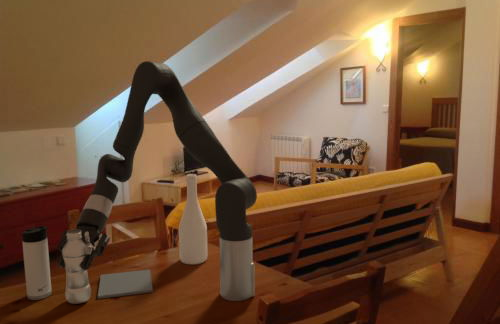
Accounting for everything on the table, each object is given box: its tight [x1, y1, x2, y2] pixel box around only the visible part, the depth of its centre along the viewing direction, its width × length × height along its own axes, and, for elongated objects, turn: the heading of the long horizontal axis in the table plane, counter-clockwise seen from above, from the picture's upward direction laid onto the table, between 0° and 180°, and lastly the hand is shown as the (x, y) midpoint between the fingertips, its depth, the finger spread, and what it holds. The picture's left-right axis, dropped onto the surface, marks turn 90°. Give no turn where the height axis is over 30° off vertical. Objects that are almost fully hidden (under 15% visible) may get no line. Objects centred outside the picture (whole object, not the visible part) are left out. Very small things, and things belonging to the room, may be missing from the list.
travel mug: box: [21, 225, 52, 301], centre depth 120 cm, size 6×7×20 cm
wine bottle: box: [178, 173, 208, 265], centre depth 145 cm, size 10×10×30 cm
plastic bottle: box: [61, 229, 92, 305], centre depth 117 cm, size 6×7×20 cm
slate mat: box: [97, 269, 153, 300], centre depth 129 cm, size 15×15×1 cm
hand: (72, 267), depth 115 cm, fingers closed on plastic bottle, 6 cm apart
